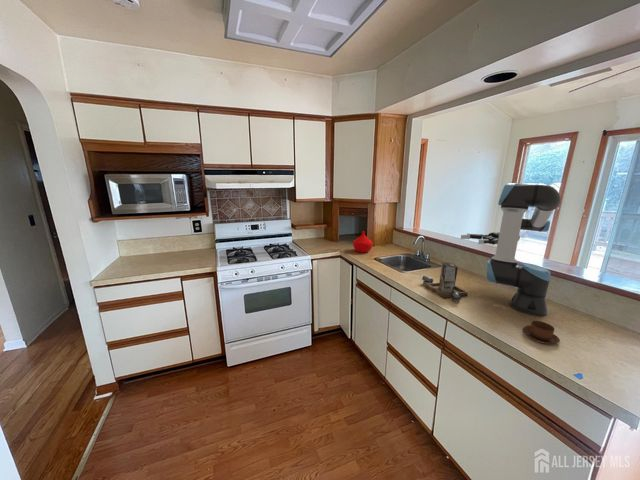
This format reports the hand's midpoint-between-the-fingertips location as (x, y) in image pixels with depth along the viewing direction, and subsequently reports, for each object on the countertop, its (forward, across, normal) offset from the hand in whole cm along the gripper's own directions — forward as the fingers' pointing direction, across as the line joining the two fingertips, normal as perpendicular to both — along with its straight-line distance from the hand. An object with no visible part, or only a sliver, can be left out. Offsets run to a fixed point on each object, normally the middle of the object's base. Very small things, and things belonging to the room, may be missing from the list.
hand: (469, 239), depth 157 cm
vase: (+33, +86, -30) cm, 97 cm away
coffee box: (+20, -8, -29) cm, 36 cm away
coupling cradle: (+20, -8, -30) cm, 37 cm away
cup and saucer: (+14, -56, -30) cm, 66 cm away
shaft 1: (+24, +4, -30) cm, 39 cm away
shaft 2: (+24, -20, -30) cm, 43 cm away
